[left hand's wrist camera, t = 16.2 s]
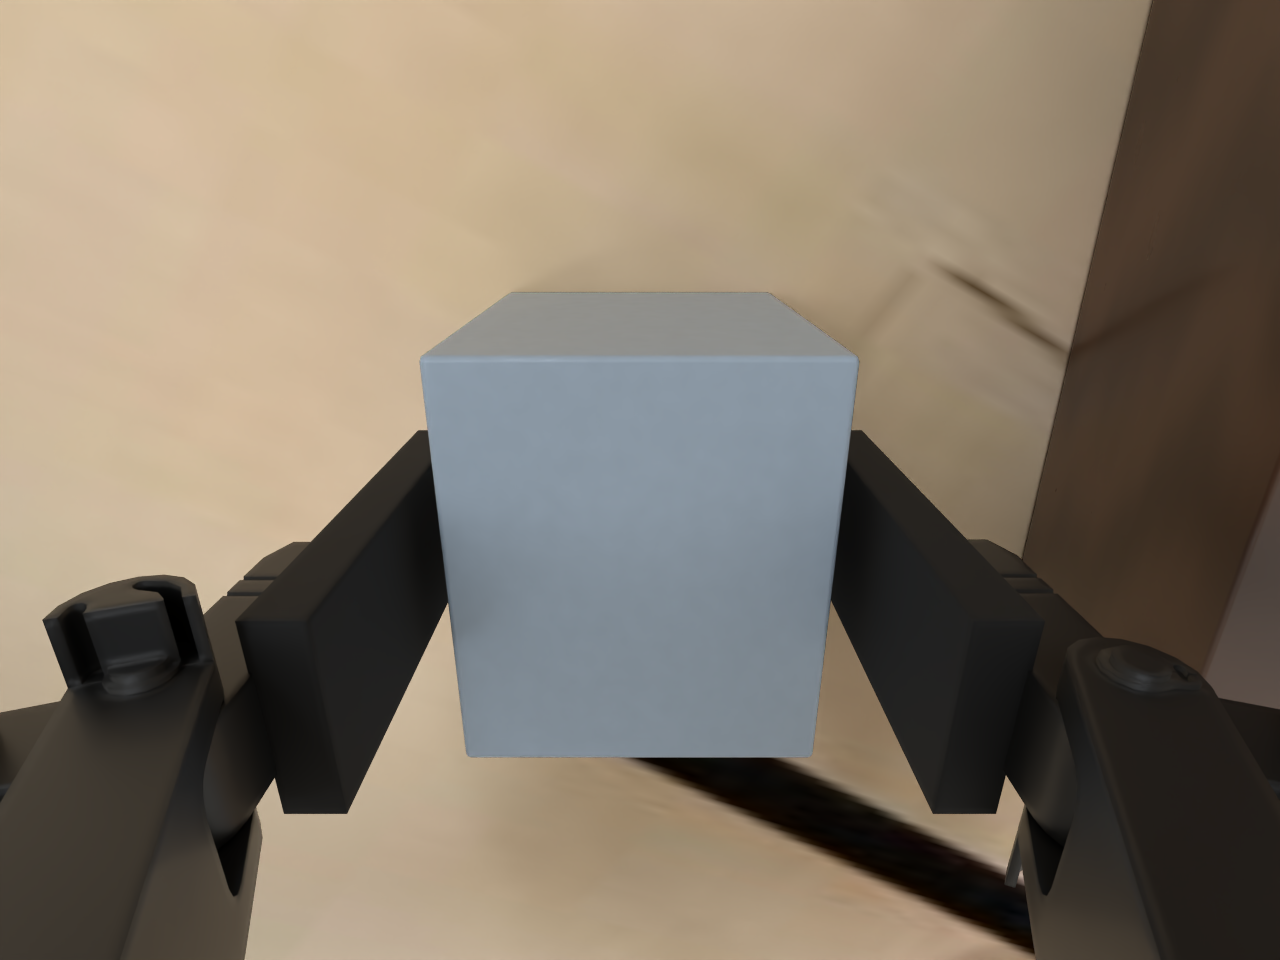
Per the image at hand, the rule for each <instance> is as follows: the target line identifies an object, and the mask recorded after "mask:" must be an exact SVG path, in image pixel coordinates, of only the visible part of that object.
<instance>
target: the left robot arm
mask: <svg viewBox="0 0 1280 960" xmlns="http://www.w3.org/2000/svg"><path fill="white" fill-rule="evenodd" d="M831 601H832V603H833V605H834V607H835V610H836V612H837V614H838V616H839V618H840V620H841V622H842V624H843V626H844V628H845V630H846V633H847V635H848V637H849V639H850V641H851V643H852V645H853V647H854V649H855V651H856V653H857V656H858V658H859V660H860V662H861V664H862V666H863V668H864V670H865V672H866V674H867V677H868V679H869V681H870V683H871V685H872V687H873V689H874V691H875V693H876V695H877V697H878V700H879V702H880V704H881V706H882V708H883V710H884V712H885V714H886V716H887V718H888V720H889V723H890V725H891V727H892V729H893V731H894V733H895V735H896V737H897V739H898V741H899V744H900V746H901V748H902V750H903V752H904V754H905V756H906V758H907V760H908V762H909V764H910V767H911V769H912V771H913V773H914V775H915V777H916V779H917V781H918V783H919V785H920V787H921V790H922V792H923V794H924V796H925V798H926V800H927V802H928V804H929V806H930V808H931V811H932V813H933V814H996V811H997V808H998V804H999V800H1000V796H1001V792H1002V788H1003V784H1004V780H1005V776H1007V777H1008V779H1009V780H1010V782H1011V783H1012V785H1013V786H1014V788H1015V790H1016V791H1017V793H1018V794H1019V796H1020V797H1021V799H1022V801H1023V802H1024V804H1025V805H1024V809H1023V812H1022V816H1021V820H1020V823H1019V827H1018V831H1017V834H1016V838H1015V842H1014V845H1013V849H1012V853H1011V856H1010V860H1009V863H1008V867H1007V872H1006V879H1005V885H1008V886H1011V887H1015V886H1016V883H1017V879H1018V876H1019V872H1020V871H1022V870H1023V876H1024V883H1025V890H1026V896H1027V903H1028V910H1029V916H1030V923H1031V930H1032V937H1033V943H1034V950H1035V957H1036V960H1280V709H1276V708H1270V707H1265V706H1260V705H1255V704H1249V703H1244V702H1239V701H1233V700H1228V699H1223V698H1218V696H1217V694H1216V693H1215V691H1214V689H1213V688H1212V686H1211V685H1210V684H1209V683H1208V682H1207V681H1206V680H1205V679H1204V678H1203V677H1202V676H1201V675H1200V673H1199V672H1198V671H1196V670H1194V669H1193V668H1191V667H1190V666H1188V665H1187V664H1185V663H1184V662H1182V661H1180V660H1179V659H1177V658H1176V657H1174V656H1171V655H1169V654H1167V653H1164V652H1162V651H1160V650H1157V649H1155V648H1152V647H1150V646H1147V645H1143V644H1139V643H1135V642H1132V641H1128V640H1124V639H1117V638H1105V637H1103V636H1102V635H1101V634H1100V633H1099V632H1098V631H1097V630H1096V629H1095V628H1094V627H1093V626H1092V625H1091V624H1089V623H1088V622H1087V621H1086V620H1085V619H1084V618H1083V617H1082V616H1081V615H1080V614H1079V613H1078V612H1077V611H1076V610H1075V609H1074V608H1072V607H1071V606H1070V605H1069V604H1068V603H1067V602H1066V601H1065V600H1064V599H1063V598H1062V597H1061V596H1060V595H1059V594H1054V593H1053V589H1052V588H1051V587H1050V586H1049V585H1048V584H1047V583H1046V582H1045V581H1044V580H1043V579H1042V578H1037V574H1036V573H1035V572H1034V571H1033V570H1032V569H1031V568H1030V567H1029V566H1028V565H1027V564H1026V563H1025V562H1024V561H1023V560H1021V559H1020V558H1019V557H1018V556H1017V555H1015V554H1013V553H1012V552H1010V551H1008V550H1006V549H1004V548H1002V547H1000V546H998V545H996V544H994V543H992V542H991V541H989V540H967V539H966V538H965V537H964V536H963V535H962V534H961V533H960V532H959V531H958V530H957V529H956V528H955V527H954V526H953V525H952V524H951V523H950V522H949V521H948V520H947V519H946V517H945V516H944V515H943V514H942V513H941V512H940V511H939V510H938V509H937V508H936V507H935V506H934V505H933V504H932V503H931V502H930V501H929V500H928V499H927V498H926V497H925V496H924V495H923V494H922V493H921V492H920V490H919V489H918V488H917V487H916V486H915V485H914V484H913V483H912V482H911V481H910V480H909V479H908V478H907V477H906V476H905V475H904V474H903V473H902V472H901V471H900V470H899V469H898V468H897V467H896V466H895V465H894V463H893V462H892V461H891V460H890V459H889V458H888V457H887V456H886V455H885V454H884V453H883V452H882V451H881V450H880V449H879V448H878V447H877V446H876V445H875V444H874V443H873V442H872V441H871V440H870V439H869V438H868V436H867V435H866V434H865V433H864V432H863V431H862V430H851V435H850V444H849V452H848V460H847V469H846V477H845V485H844V494H843V502H842V511H841V519H840V527H839V536H838V544H837V552H836V561H835V569H834V577H833V586H832V594H831ZM447 603H448V596H447V587H446V579H445V571H444V562H443V554H442V545H441V537H440V529H439V520H438V512H437V504H436V495H435V487H434V478H433V470H432V462H431V453H430V445H429V437H428V430H418V431H417V432H416V433H415V434H414V435H413V437H412V438H411V439H410V440H409V441H408V442H407V443H406V444H405V445H404V446H403V447H402V448H401V449H400V450H399V451H398V452H397V453H396V454H395V455H394V456H393V457H392V458H391V459H390V460H389V461H388V462H387V463H386V465H385V466H384V467H383V468H382V469H381V470H380V471H379V472H378V473H377V474H376V475H375V476H374V477H373V478H372V479H371V480H370V481H369V482H368V483H367V484H366V485H365V486H364V487H363V488H362V489H361V490H360V492H359V493H358V494H357V495H356V496H355V497H354V498H353V499H352V500H351V501H350V502H349V503H348V504H347V505H346V506H345V507H344V508H343V509H342V510H341V511H340V512H339V513H338V514H337V515H336V516H335V517H334V519H333V520H332V521H331V522H330V523H329V524H328V525H327V526H326V527H325V528H324V529H323V530H322V531H321V532H320V533H319V534H318V535H317V536H316V537H315V538H314V539H313V540H312V541H311V542H293V543H291V544H289V545H287V546H285V547H283V548H281V549H279V550H277V551H276V552H274V553H272V554H270V555H268V556H266V557H264V558H263V559H262V560H261V561H260V562H259V563H258V564H256V565H255V566H254V567H253V568H252V569H251V570H250V571H249V572H248V573H247V574H246V575H245V576H244V580H240V581H239V582H238V583H236V584H235V585H234V586H233V587H232V588H231V589H230V590H229V591H228V592H227V596H223V597H222V598H221V599H220V600H219V601H218V602H216V603H215V604H214V605H213V606H212V607H211V608H210V609H209V610H208V611H207V612H206V613H205V614H204V615H203V612H202V609H201V605H200V601H199V598H198V594H197V590H196V587H195V584H193V583H192V582H190V581H189V580H187V579H186V578H184V577H177V576H170V575H155V576H142V577H135V578H131V579H126V580H122V581H117V582H113V583H109V584H106V585H103V586H101V587H98V588H95V589H92V590H90V591H87V592H84V593H81V594H80V595H78V596H76V597H74V598H72V599H70V600H68V601H67V602H65V603H63V604H61V605H59V606H58V607H56V608H55V609H54V610H53V611H52V612H51V613H50V614H49V615H47V616H46V617H45V618H44V619H43V623H44V626H45V628H46V631H47V634H48V636H49V639H50V642H51V644H52V647H53V649H54V652H55V655H56V657H57V660H58V663H59V665H60V668H61V671H62V673H63V676H64V679H65V681H66V684H67V687H68V689H67V691H66V693H65V694H64V696H63V698H62V699H61V701H59V702H54V703H49V704H44V705H38V706H33V707H28V708H22V709H17V710H12V711H7V712H1V713H0V960H244V959H245V952H246V945H247V939H248V932H249V925H250V918H251V912H252V905H253V898H254V892H255V885H256V878H257V871H258V865H259V858H260V851H261V844H262V831H261V824H260V820H259V816H258V812H257V809H256V806H257V805H258V803H259V801H260V800H261V798H262V797H263V795H264V794H265V792H266V790H267V789H268V787H269V786H270V784H271V782H272V781H273V779H274V778H275V780H276V784H277V788H278V792H279V796H280V800H281V804H282V807H283V811H284V814H347V813H348V811H349V808H350V806H351V804H352V802H353V800H354V798H355V796H356V794H357V792H358V790H359V788H360V785H361V783H362V781H363V779H364V777H365V775H366V773H367V771H368V769H369V767H370V764H371V762H372V760H373V758H374V756H375V754H376V752H377V750H378V748H379V746H380V744H381V741H382V739H383V737H384V735H385V733H386V731H387V729H388V727H389V725H390V723H391V721H392V718H393V716H394V714H395V712H396V710H397V708H398V706H399V704H400V702H401V700H402V697H403V695H404V693H405V691H406V689H407V687H408V685H409V683H410V681H411V679H412V677H413V674H414V672H415V670H416V668H417V666H418V664H419V662H420V660H421V658H422V656H423V654H424V651H425V649H426V647H427V645H428V643H429V641H430V639H431V637H432V635H433V633H434V631H435V628H436V626H437V624H438V622H439V620H440V618H441V616H442V614H443V612H444V610H445V607H446V605H447Z"/></svg>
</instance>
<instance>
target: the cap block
mask: <svg viewBox="0 0 1280 960" xmlns="http://www.w3.org/2000/svg"><path fill="white" fill-rule="evenodd" d="M858 368H859V359H858V356H856V355H855V354H853V353H852V352H851V351H849V350H848V349H846V348H845V347H844V346H842V345H841V344H840V343H838V342H837V341H835V340H834V339H833V338H831V337H830V336H828V335H827V334H826V333H824V332H823V331H822V330H820V329H819V328H817V327H816V326H815V325H813V324H812V323H810V322H809V321H808V320H806V319H805V318H803V317H802V316H801V315H799V314H798V313H797V312H795V311H794V310H792V309H791V308H790V307H788V306H787V305H785V304H784V303H783V302H781V301H780V300H778V299H777V298H776V297H774V296H773V295H772V294H770V293H735V292H512V293H509V294H508V295H506V296H505V297H503V298H502V299H501V300H499V301H498V302H496V303H495V304H494V305H492V306H491V307H489V308H488V309H487V310H485V311H484V312H482V313H481V314H480V315H478V316H477V317H475V318H474V319H473V320H471V321H470V322H469V323H467V324H466V325H464V326H463V327H462V328H460V329H459V330H457V331H456V332H455V333H453V334H452V335H450V336H449V337H448V338H446V339H445V340H443V341H442V342H441V343H439V344H438V345H436V346H435V347H434V348H432V349H431V350H429V351H428V352H427V353H425V354H424V355H422V356H421V358H420V369H421V378H422V386H423V395H424V403H425V411H426V420H427V428H428V437H429V445H430V453H431V462H432V470H433V478H434V487H435V495H436V504H437V512H438V520H439V529H440V537H441V545H442V554H443V562H444V571H445V579H446V587H447V596H448V604H449V612H450V621H451V629H452V638H453V646H454V654H455V663H456V671H457V679H458V688H459V696H460V705H461V713H462V721H463V730H464V738H465V747H466V753H467V755H468V756H469V757H810V756H811V755H812V752H813V745H814V736H815V728H816V720H817V711H818V703H819V695H820V686H821V678H822V669H823V661H824V653H825V644H826V636H827V628H828V619H829V611H830V603H831V594H832V586H833V577H834V569H835V561H836V552H837V544H838V536H839V527H840V519H841V511H842V502H843V494H844V485H845V477H846V469H847V460H848V452H849V444H850V435H851V427H852V419H853V410H854V402H855V394H856V385H857V377H858Z"/></svg>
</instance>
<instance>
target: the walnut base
mask: <svg viewBox="0 0 1280 960" xmlns="http://www.w3.org/2000/svg"><path fill="white" fill-rule="evenodd" d="M1023 561H1024V562H1025V563H1026V564H1027V565H1028V566H1029V567H1030V568H1031V569H1032V570H1033V571H1034V572H1035V573H1036V574H1037V578H1042V579H1043V580H1044V581H1045V582H1046V583H1047V584H1048V585H1049V586H1050V587H1051V588H1052V589H1053V593H1054V594H1059V595H1060V596H1061V597H1062V598H1063V599H1064V600H1065V601H1066V602H1067V603H1068V604H1069V605H1070V606H1071V607H1072V608H1074V609H1075V610H1076V611H1077V612H1078V613H1079V614H1080V615H1081V616H1082V617H1083V618H1084V619H1085V620H1086V621H1087V622H1088V623H1089V624H1091V625H1092V626H1093V627H1094V628H1095V629H1096V630H1097V631H1098V632H1099V633H1100V634H1101V635H1102V636H1103V637H1105V638H1117V639H1124V640H1128V641H1132V642H1135V643H1139V644H1143V645H1147V646H1150V647H1152V648H1155V649H1157V650H1160V651H1162V652H1164V653H1167V654H1169V655H1171V656H1174V657H1176V658H1177V659H1179V660H1180V661H1182V662H1184V663H1185V664H1187V665H1188V666H1190V667H1191V668H1193V669H1194V670H1196V671H1198V672H1199V673H1200V675H1201V676H1202V677H1203V678H1204V679H1205V680H1206V681H1207V682H1208V683H1209V684H1210V685H1211V686H1212V688H1213V689H1214V691H1215V693H1216V694H1217V696H1218V698H1223V699H1228V700H1233V701H1239V702H1244V703H1249V704H1255V705H1260V706H1265V707H1270V708H1276V709H1280V0H1153V3H1152V8H1151V12H1150V16H1149V21H1148V25H1147V29H1146V33H1145V38H1144V42H1143V46H1142V51H1141V55H1140V59H1139V63H1138V68H1137V72H1136V76H1135V80H1134V85H1133V89H1132V93H1131V98H1130V102H1129V106H1128V110H1127V115H1126V119H1125V123H1124V128H1123V132H1122V136H1121V140H1120V145H1119V149H1118V153H1117V158H1116V162H1115V166H1114V170H1113V175H1112V179H1111V183H1110V188H1109V192H1108V196H1107V200H1106V205H1105V209H1104V213H1103V218H1102V222H1101V226H1100V230H1099V235H1098V239H1097V243H1096V248H1095V252H1094V256H1093V260H1092V265H1091V269H1090V273H1089V278H1088V282H1087V286H1086V290H1085V295H1084V299H1083V303H1082V307H1081V312H1080V316H1079V320H1078V325H1077V329H1076V333H1075V337H1074V342H1073V346H1072V350H1071V355H1070V359H1069V363H1068V367H1067V372H1066V376H1065V380H1064V385H1063V389H1062V393H1061V397H1060V402H1059V406H1058V410H1057V415H1056V419H1055V423H1054V427H1053V432H1052V436H1051V440H1050V445H1049V449H1048V453H1047V457H1046V462H1045V466H1044V470H1043V475H1042V479H1041V483H1040V487H1039V492H1038V496H1037V500H1036V505H1035V509H1034V513H1033V517H1032V522H1031V526H1030V530H1029V535H1028V539H1027V543H1026V547H1025V552H1024V556H1023Z"/></svg>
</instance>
